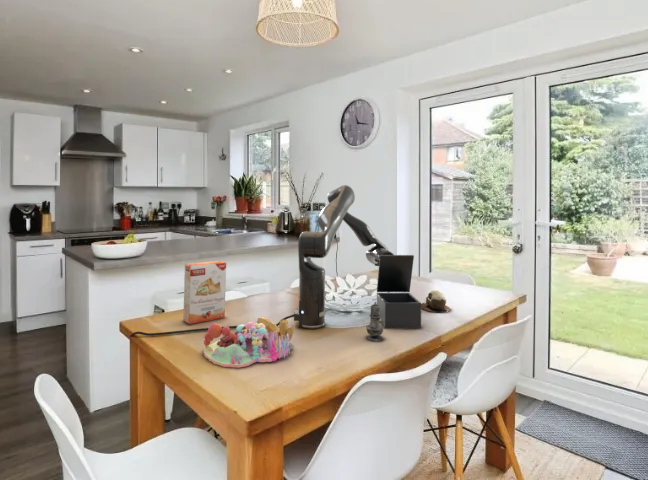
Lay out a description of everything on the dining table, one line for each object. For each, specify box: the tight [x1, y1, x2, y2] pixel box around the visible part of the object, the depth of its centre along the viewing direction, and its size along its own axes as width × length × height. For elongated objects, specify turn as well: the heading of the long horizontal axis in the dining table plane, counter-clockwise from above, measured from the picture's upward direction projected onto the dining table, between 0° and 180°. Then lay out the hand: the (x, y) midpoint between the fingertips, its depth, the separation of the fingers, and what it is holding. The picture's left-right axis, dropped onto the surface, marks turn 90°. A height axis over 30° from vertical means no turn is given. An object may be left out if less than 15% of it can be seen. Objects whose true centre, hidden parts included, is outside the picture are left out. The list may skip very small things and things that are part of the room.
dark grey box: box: [376, 292, 422, 329], centre depth 152 cm, size 15×13×9 cm
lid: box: [376, 254, 415, 293], centre depth 157 cm, size 16×13×1 cm
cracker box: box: [182, 260, 227, 325], centre depth 151 cm, size 14×6×21 cm, turn 129°
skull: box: [421, 289, 451, 314], centre depth 170 cm, size 12×10×10 cm
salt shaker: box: [365, 301, 385, 342], centre depth 134 cm, size 6×6×12 cm
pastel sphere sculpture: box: [203, 316, 296, 369], centre depth 122 cm, size 25×24×9 cm
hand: (395, 266), depth 156 cm, fingers closed
